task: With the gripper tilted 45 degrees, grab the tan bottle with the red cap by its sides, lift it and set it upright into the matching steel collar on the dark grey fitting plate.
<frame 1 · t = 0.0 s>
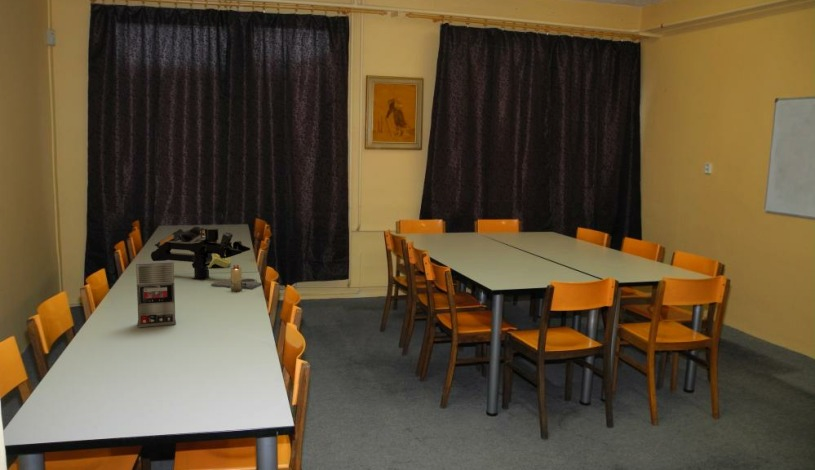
hand: (246, 250, 321), 17 cm above the table, tool horizontal, fingers open, 9 cm apart
cassette tape recorder: (156, 324, 250), on the table
plastic component: (220, 265, 364), on the table
tan bottle: (236, 290, 306), on the table
toolset: (186, 245, 426), on the table
fitting plate: (236, 285, 317), on the table
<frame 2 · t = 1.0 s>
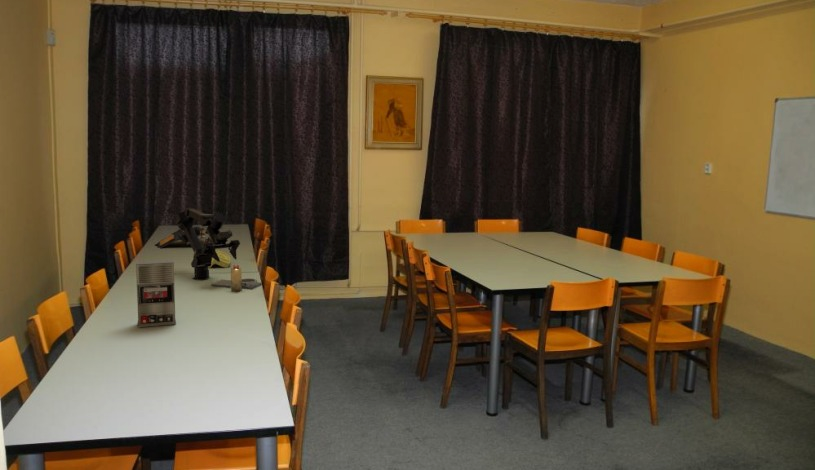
hand: (227, 260, 309), 14 cm above the table, tool tilted 45°, fingers open, 9 cm apart
nothing on the table moved.
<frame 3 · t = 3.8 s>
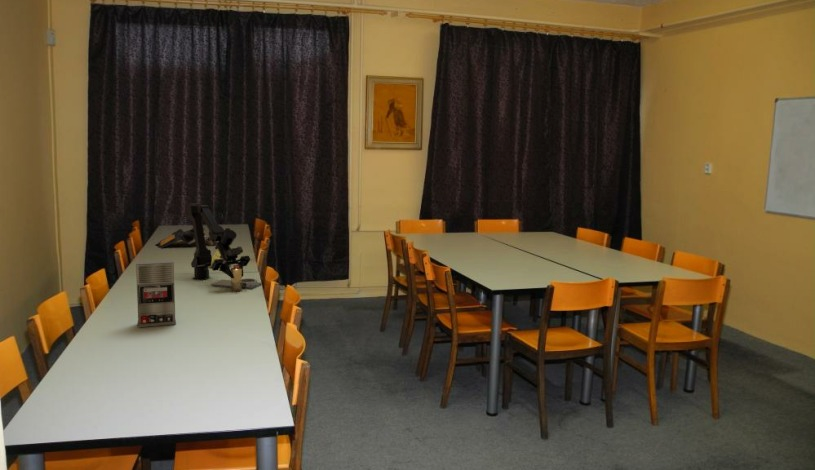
hand: (237, 277, 304), 7 cm above the table, tool tilted 45°, fingers closed on tan bottle, 5 cm apart
tan bottle: (236, 290, 306), on the table, touching gripper
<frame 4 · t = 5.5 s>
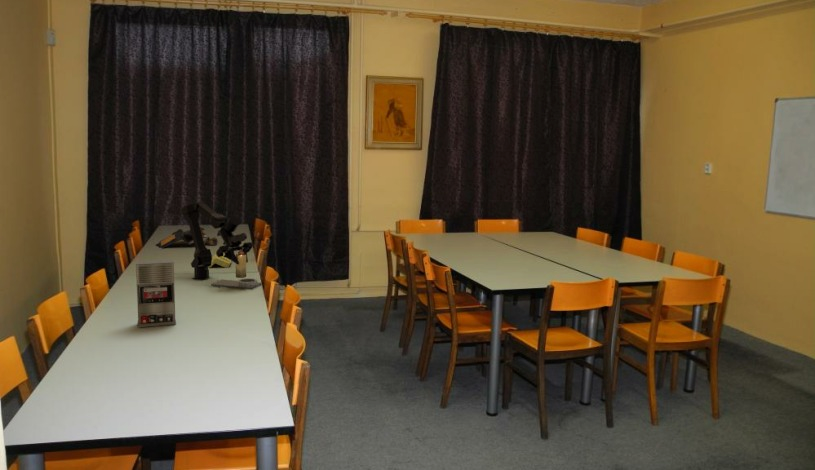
hand: (242, 263, 307), 13 cm above the table, tool tilted 45°, fingers closed on tan bottle, 5 cm apart
tan bottle: (241, 276, 309), point 6 cm above the table, touching gripper
when the fingers open (9 cm above the table, at t = 7.5 s): tan bottle stays where it is, resting on fitting plate.
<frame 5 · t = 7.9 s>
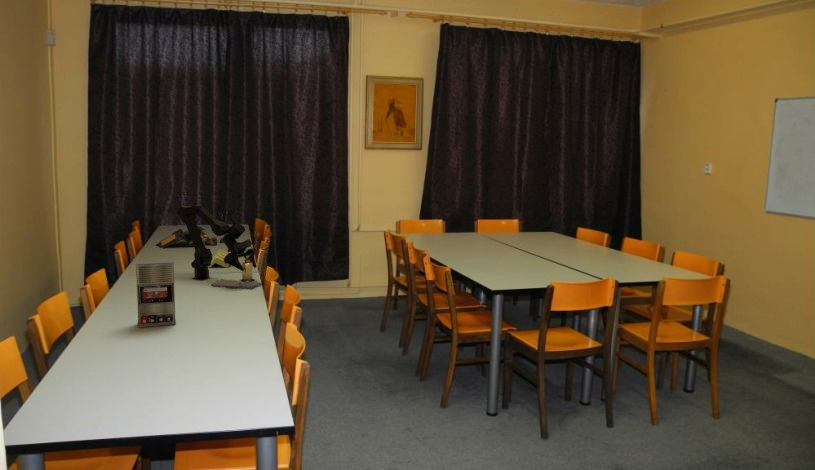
hand: (249, 268, 313), 9 cm above the table, tool tilted 45°, fingers open, 9 cm apart
tan bottle: (247, 284, 315), point 1 cm above the table, touching fitting plate
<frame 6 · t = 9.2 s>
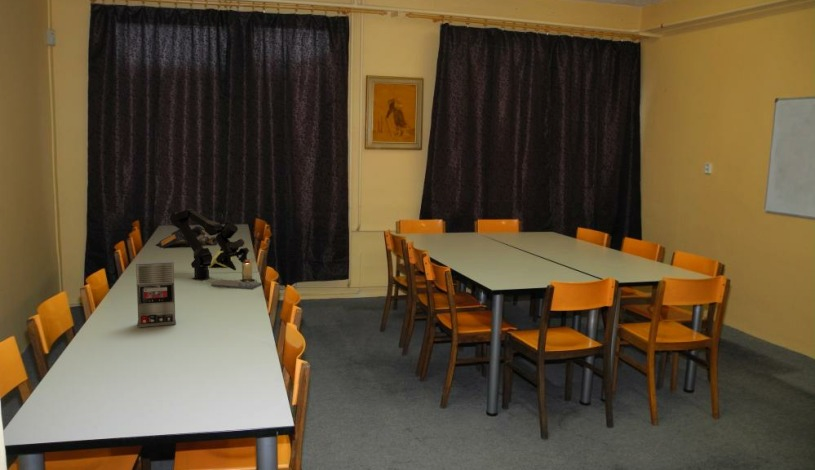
hand: (241, 268, 316), 9 cm above the table, tool tilted 45°, fingers open, 9 cm apart
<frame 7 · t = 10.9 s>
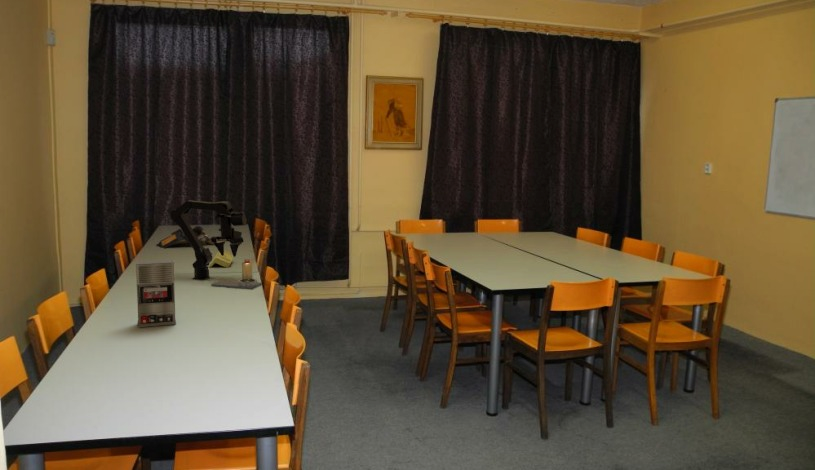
hand: (228, 256, 326), 13 cm above the table, tool pointing down, fingers open, 9 cm apart
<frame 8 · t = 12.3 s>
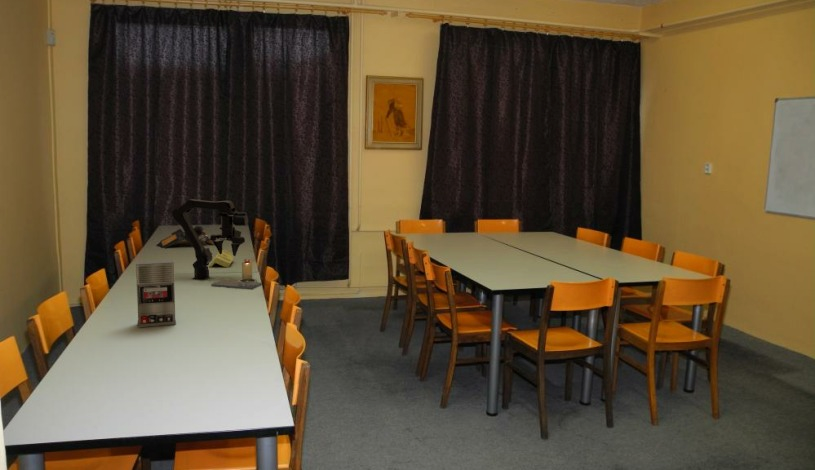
hand: (227, 255, 326), 13 cm above the table, tool pointing down, fingers open, 9 cm apart
at the end: tan bottle 0.1 cm from the target spot on the fitting plate, point 1.0 cm above the fitting plate's base; tan bottle tilted 1°; the gripper is holding nothing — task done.
